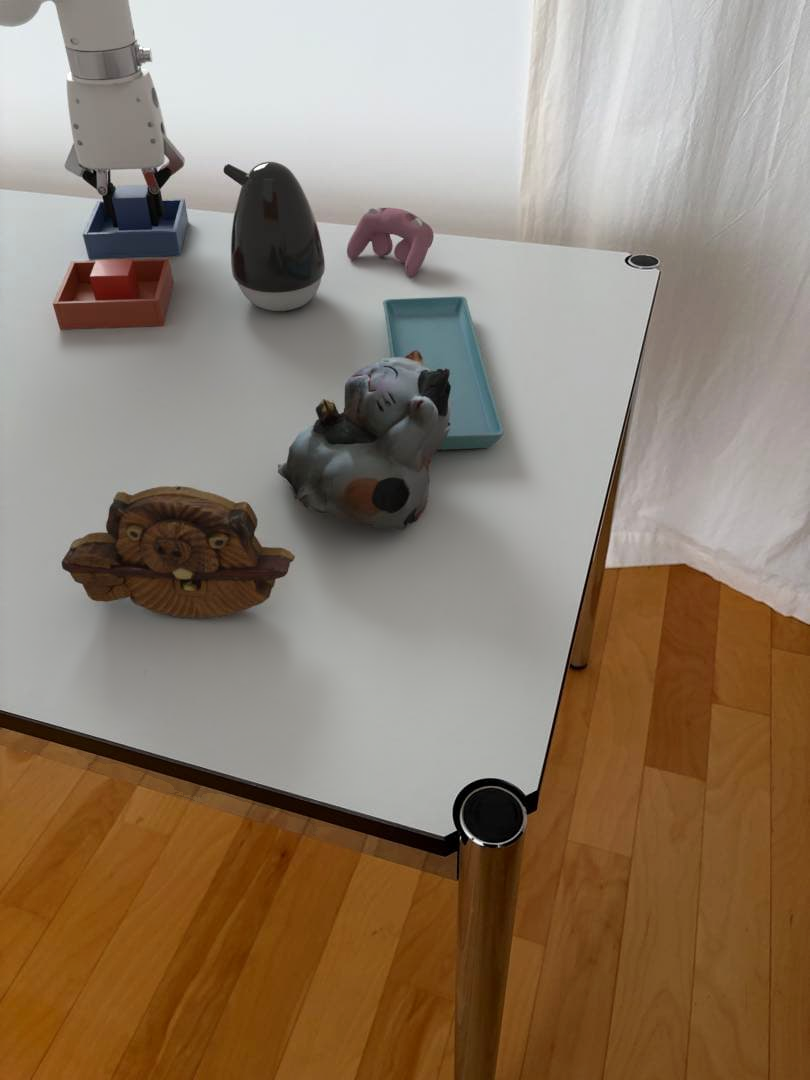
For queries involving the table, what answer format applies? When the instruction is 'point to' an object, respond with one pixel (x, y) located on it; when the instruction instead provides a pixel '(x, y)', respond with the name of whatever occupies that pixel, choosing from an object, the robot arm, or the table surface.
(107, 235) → the blue bin
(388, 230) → the video game controller
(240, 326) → the table surface
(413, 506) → the lucky cat figurine
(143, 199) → the blue block
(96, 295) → the red block
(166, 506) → the wooden carving
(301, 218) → the pump dispenser
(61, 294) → the red bin
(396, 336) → the rectangular tray
